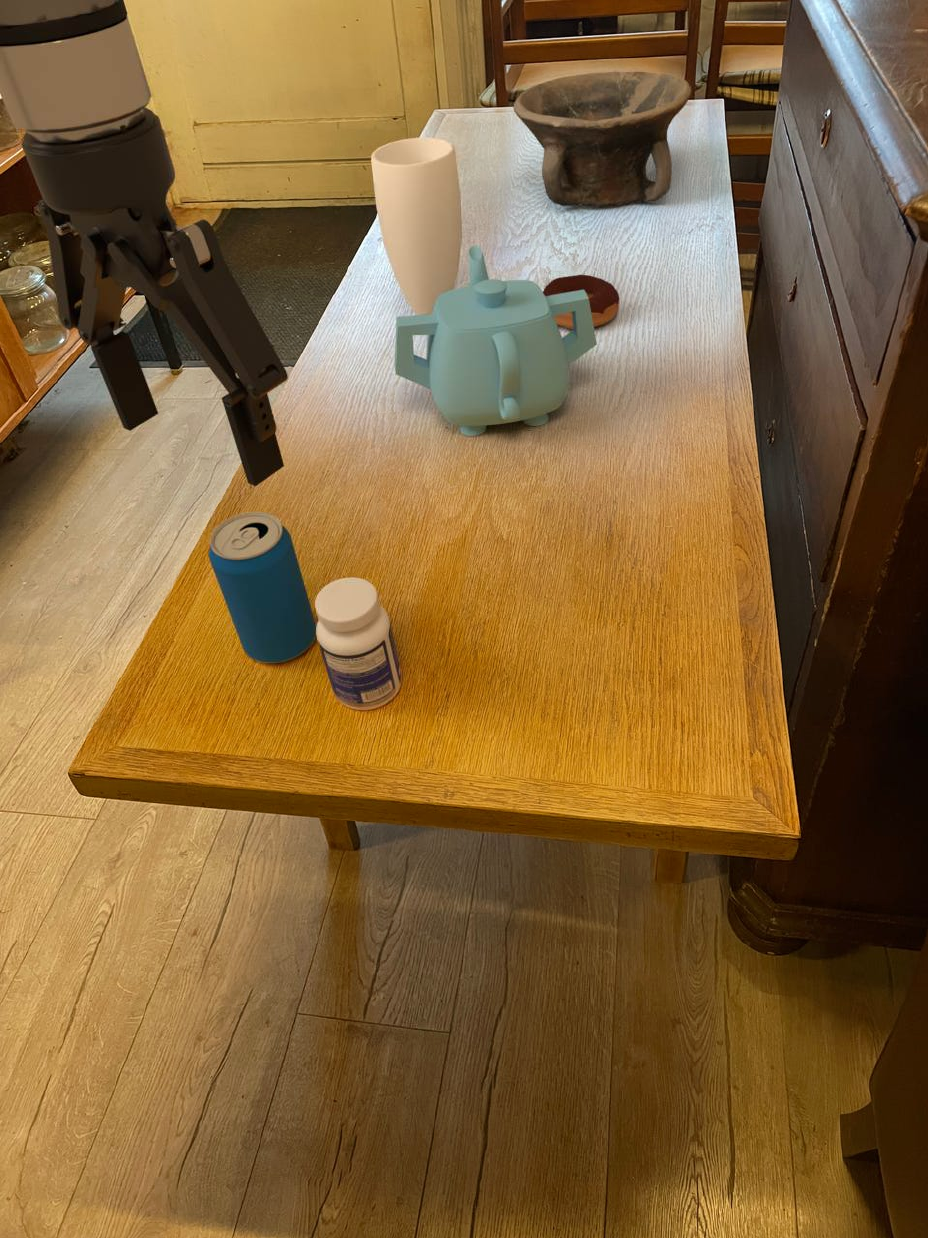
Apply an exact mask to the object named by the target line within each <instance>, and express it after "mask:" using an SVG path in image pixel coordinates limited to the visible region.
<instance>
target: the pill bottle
mask: <svg viewBox="0 0 928 1238" xmlns="http://www.w3.org/2000/svg"><path fill="white" fill-rule="evenodd" d="M314 608H315V612H316V615H317V619H318V621H317V623H316V639H317V640H316V641H317V643H318V646H319V649H320V653H321V656H322V660H323V663H324V666H325V669H326V673H327V676H328V679H329V682H330V686H331V689H332V693H333V695H334V697H335V698H336V700H337V701H338V702H339V703H340V704H342V705H343V706H345V707H347V708H349V709H351V710H357V711H370V710H371V711H372V710H375V709H378V708H381V707H383V706H385V705H386V704H388V703H389V702H391V701H392V700H393V699H394V698H395V697H396V696H397V694H398V693H399V692H400V689H401V687H402V681H403V675H402V669H401V665H400V659H399V655H398V650H397V646H396V642H395V637H394V633H393V628H392V623H391V620H390V619H391V618H390V617H389V614H388V612H387V610H386V609H385V608H384V606H382V605H381V602H380V599H379V595H378V591H377V589H376V587H375V585H374V584H372V582H370V581H368V580H367V579H364V578H361V577H354V576H353V577H351V576H350V577H342V578H339V579H336V580H333V581H331V582H330V583H327V584H326V585H325V586H323V588H321V590H320V591H319V592H318V594H317V595H316V597H315V601H314Z"/></svg>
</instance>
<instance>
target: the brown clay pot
mask: <svg viewBox="0 0 928 1238" xmlns="http://www.w3.org/2000/svg"><path fill="white" fill-rule="evenodd" d="M691 94H692V87H691V85H690V84H689V82H688V81H687V80H686V79H684V78H682V77H678V76H675V75H672V74H667V73H666V74H664V73H655V72H645V71H617V70H616V71H615V70H614V71H604V72H589V73H579V74H574V75H568V76H562V77H558V78H554V79H550V80H548V81H545V82H541V83H537V84H535V85H532V86H531V87H528V88H526V89H525V90H524V91H522V92H521V93H520V94H519V95H518V97H517V98H516V100H515V101H514V103H513V106H512V107H513V111H514V113H515V115H516V116H517V117H518V118H519V119H520V121H521V122H522V123H523V124H524V125H525V127H526V128H527V129H528V130H529V132H530V133H531V134H532V135H533V136H534V137H535V139H536V140H537V142H538V143H539V145H540V146H541V147H542V148H543V150H544V151H543V157H542V165H541V177H542V180H543V184H544V189H545V194H546V195H547V197H548V199H549V200H550V201H551V202H552V203H553V204H555V205H558V206H561V207H570V206H571V207H576V206H579V205H580V206H584V207H615V206H616V207H617V206H620V205H626V204H632V203H641V204H646V203H654V202H657V201H659V200H661V199H663V198H664V197H665V196H666V195H667V194H668V192H669V190H670V189H671V185H672V178H673V177H672V176H673V163H672V156H671V155H672V154H671V149H670V145H669V142H668V131H669V130H668V129H669V127H670V125H671V123H672V121H673V120H674V119H675V117H676V116H677V115H678V114H679V113H680V112H681V111H682V110H683V109H684V107H685V106H686V104H687V103H688V101H689V99H690V96H691ZM650 156H651V157H652V161H653V164H654V166H655V181H654V180H653V181H652V180H650V179H649V178H648V174H647V163H648V161H649V158H650Z"/></svg>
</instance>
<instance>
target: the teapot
mask: <svg viewBox="0 0 928 1238" xmlns="http://www.w3.org/2000/svg"><path fill="white" fill-rule="evenodd" d="M467 255H468V265H469V281H468V285H467V286H463V287H458V288H454V289H453V290H450V291H447V292H444V293H442V294H440V295H439V296H438V297H437V298H436V301H435V304H434V307H433V312H432V314H422V315H417V314H414V315H413V314H412V315H402V316H396V321H395V343H394V363H393V364H394V372H395V375H397V376H398V377H400V378H404V379H406V380H408V381H410V382H412V383H414V384H416V385H419V386H422V387H423V388H425V389H428V390H429V391H430V394H431V396H432V398H433V401H434V403H435V405H436V407H437V409H438V410H439V412H440V414H441V415H442V416H443V418H444V419H445V420H446V421H447V423H449V424H452V425H455V426H460V430H459V431H460V433H461V434H462V435H464V436H467V437H476V436H480V435H482V434H484V433H485V432H486V430H487V426H491V425H493V426H494V425H501V424H509V423H515V422H521V421H522V422H523V423H524V424H525V425H527V426H531V427H539V426H543V425H545V424H547V423H548V422H549V419H550V417H549V416H548V413H551V412H555V410H557V409H559V408H560V407H561V405H562V404H563V402H564V400H565V398H566V397H567V394H568V392H569V387H570V372H569V371H570V369H569V366H571V365H573V364H574V363H575V362H576V361H577V360H579V359H580V358H581V357H582V356H584V355H585V354H586V353H588V352H589V351H590V350H592V349H593V348H595V347H596V346H597V344H598V343H597V338H596V332H595V327H594V326H593V320H592V315H591V309H590V303H589V298H588V296H587V294H586V292H585V290H579V291H573V292H567V293H562V294H556V295H550V296H545V295H544V294H543V290H542V289H541V287H540V285H538V284H537V283H536V282H535V281H533V280H527V279H513V280H501V279H496V278H495V279H494V278H491V279H490V278H489V274H488V271H487V266H486V261H485V256H484V253H483V251H482V249H481V248H480V247H479V246H478V245H472V246H471V247H469V249H468V254H467ZM570 312H572V319H573V329H572V330H571V331H570V332H568V333H567V334H565V335H564V336H562V333H561V331H560V328H559V325H558V324H557V322H556V320H555V316H559V315H562V314H566V313H570ZM414 336H427V338H426V358H424V357H422V356H419V355H416V354H415V353H414V352H415V351H414Z"/></svg>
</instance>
